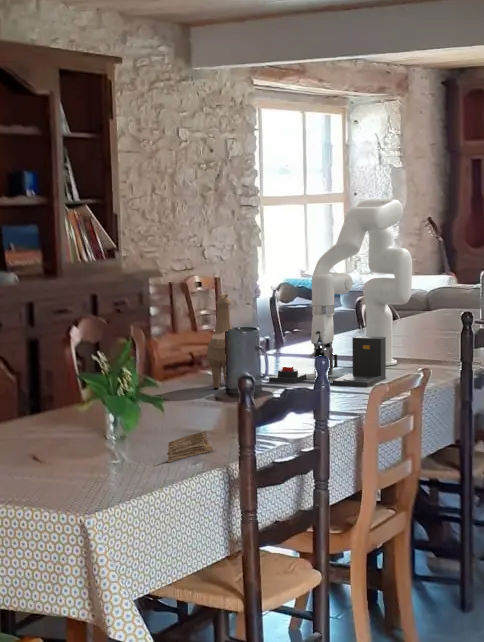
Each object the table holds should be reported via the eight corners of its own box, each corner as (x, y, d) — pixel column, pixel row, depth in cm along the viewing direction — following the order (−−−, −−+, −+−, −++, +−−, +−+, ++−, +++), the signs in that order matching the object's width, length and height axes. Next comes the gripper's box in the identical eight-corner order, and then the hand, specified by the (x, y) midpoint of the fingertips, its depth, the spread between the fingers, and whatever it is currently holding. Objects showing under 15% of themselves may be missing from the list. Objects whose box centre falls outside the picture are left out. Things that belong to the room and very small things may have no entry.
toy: (238, 381, 393) (237, 292, 390) (234, 392, 373) (233, 298, 370) (212, 381, 394) (211, 293, 391) (207, 392, 374) (205, 298, 371)
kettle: (312, 371, 404) (312, 346, 403) (340, 373, 399) (340, 347, 398) (305, 374, 398) (305, 348, 397) (333, 376, 394) (333, 349, 393)
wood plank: (172, 463, 277) (172, 442, 277) (166, 462, 279) (165, 441, 278) (212, 451, 289) (212, 431, 289) (205, 450, 291) (205, 430, 290)
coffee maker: (351, 376, 400) (351, 335, 399) (385, 378, 395) (385, 337, 394) (332, 384, 383) (332, 342, 382) (367, 387, 378) (367, 344, 377)
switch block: (281, 377, 401) (281, 367, 400) (306, 378, 397) (306, 368, 396) (269, 382, 391) (269, 371, 391) (294, 383, 387) (294, 373, 387)
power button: (284, 370, 396) (284, 365, 396) (294, 371, 394) (294, 365, 394) (280, 372, 393) (280, 366, 393) (290, 372, 391) (290, 367, 391)
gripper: (321, 307, 406) (322, 358, 407) (303, 312, 390) (303, 365, 392) (342, 308, 402) (342, 359, 404) (324, 313, 387) (324, 366, 389)
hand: (323, 362), depth 398 cm, fingers closed on kettle, 6 cm apart
